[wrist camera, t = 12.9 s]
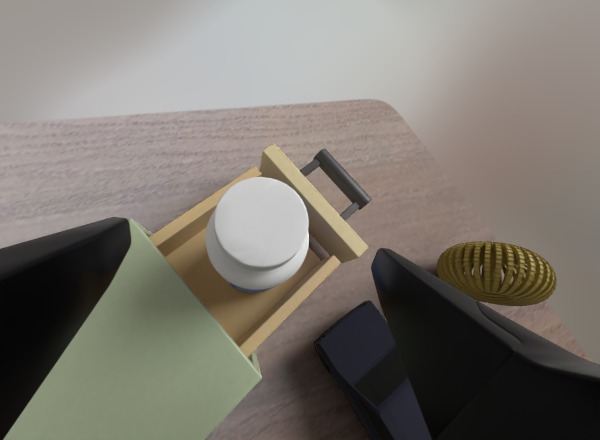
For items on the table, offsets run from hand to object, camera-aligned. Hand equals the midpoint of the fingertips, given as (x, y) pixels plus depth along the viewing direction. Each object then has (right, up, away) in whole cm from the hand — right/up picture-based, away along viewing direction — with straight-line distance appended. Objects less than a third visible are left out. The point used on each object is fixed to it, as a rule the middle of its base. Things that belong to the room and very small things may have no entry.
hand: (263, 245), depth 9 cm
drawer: (-1, -1, +12) cm, 12 cm away
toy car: (+8, -14, +11) cm, 19 cm away
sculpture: (+17, -5, +16) cm, 24 cm away
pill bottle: (-2, -2, +11) cm, 11 cm away
